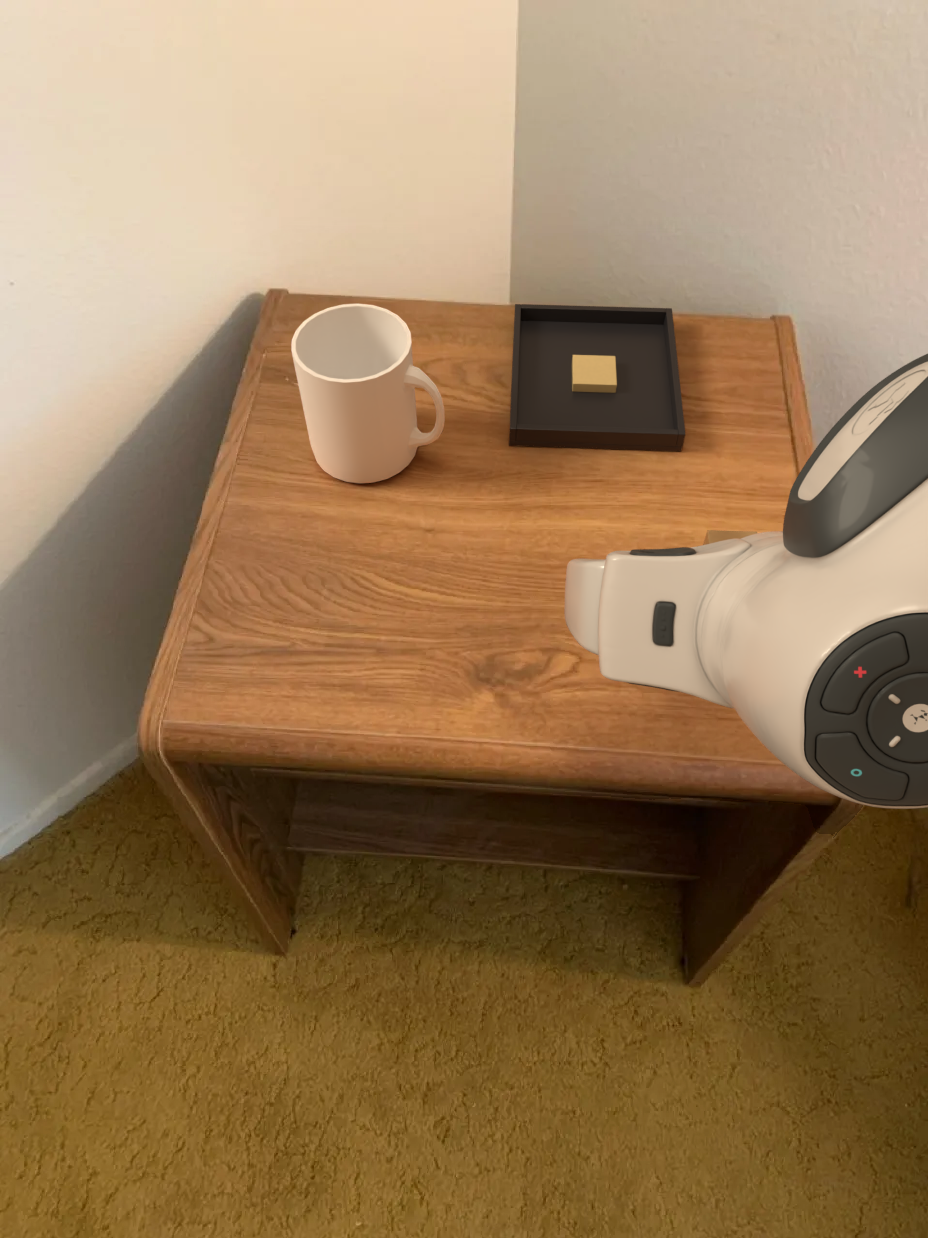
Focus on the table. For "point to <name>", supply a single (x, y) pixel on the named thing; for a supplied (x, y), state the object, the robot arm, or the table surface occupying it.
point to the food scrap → (594, 373)
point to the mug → (361, 392)
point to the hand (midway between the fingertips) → (718, 582)
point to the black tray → (595, 419)
